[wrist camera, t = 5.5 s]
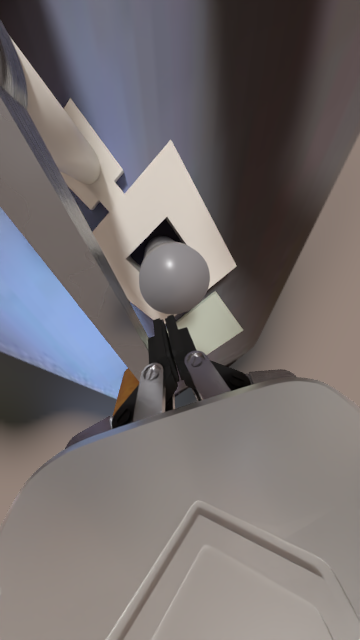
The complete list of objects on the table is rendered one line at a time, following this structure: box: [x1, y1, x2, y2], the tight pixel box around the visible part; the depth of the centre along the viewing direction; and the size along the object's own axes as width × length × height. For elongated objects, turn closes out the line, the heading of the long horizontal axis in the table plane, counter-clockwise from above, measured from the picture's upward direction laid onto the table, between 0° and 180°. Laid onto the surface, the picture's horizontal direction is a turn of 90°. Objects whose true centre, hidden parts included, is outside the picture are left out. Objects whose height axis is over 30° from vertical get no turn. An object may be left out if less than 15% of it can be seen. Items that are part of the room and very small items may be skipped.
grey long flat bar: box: [0, 20, 149, 382], centre depth 8 cm, size 19×3×2 cm, turn 14°
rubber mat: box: [166, 291, 243, 355], centre depth 30 cm, size 14×12×1 cm
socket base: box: [10, 37, 236, 324], centre depth 14 cm, size 14×20×12 cm
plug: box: [139, 235, 210, 314], centre depth 16 cm, size 6×6×10 cm
